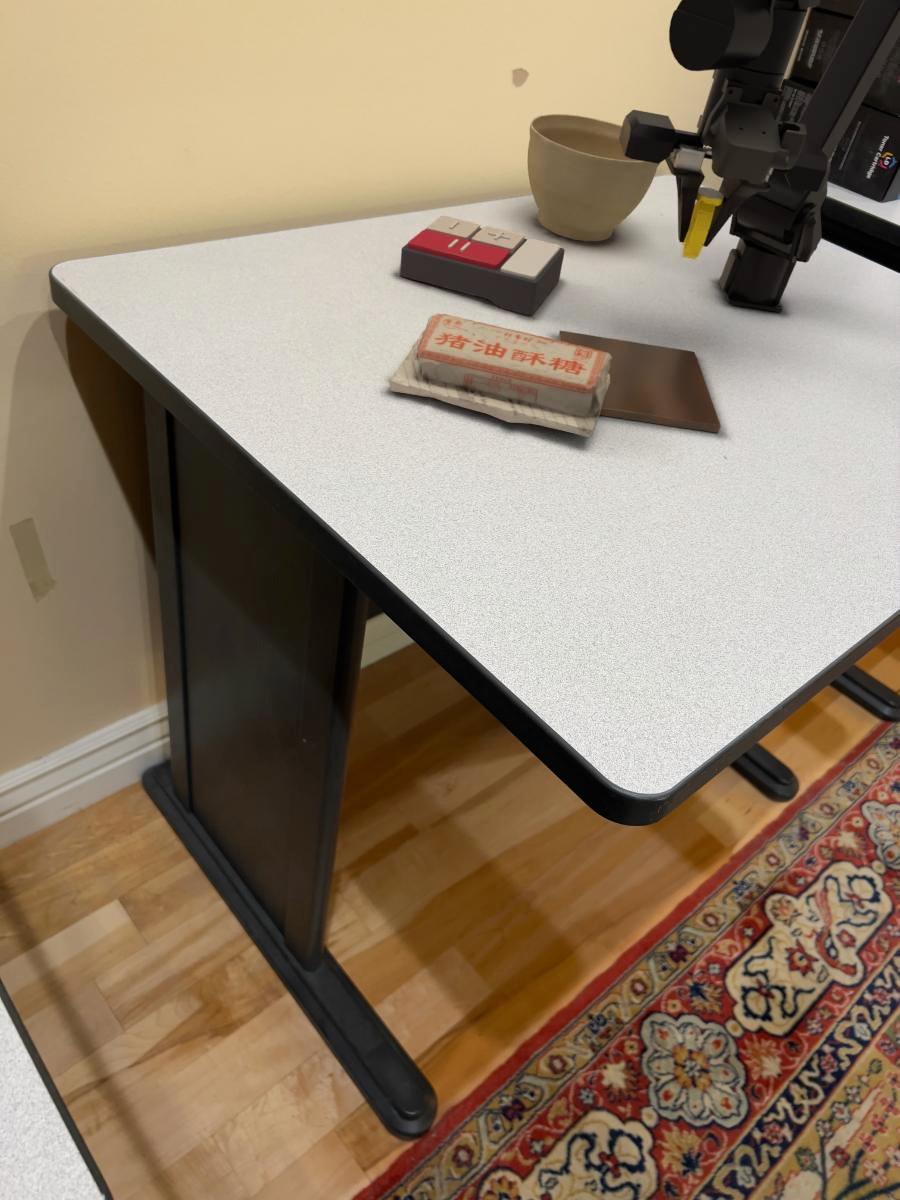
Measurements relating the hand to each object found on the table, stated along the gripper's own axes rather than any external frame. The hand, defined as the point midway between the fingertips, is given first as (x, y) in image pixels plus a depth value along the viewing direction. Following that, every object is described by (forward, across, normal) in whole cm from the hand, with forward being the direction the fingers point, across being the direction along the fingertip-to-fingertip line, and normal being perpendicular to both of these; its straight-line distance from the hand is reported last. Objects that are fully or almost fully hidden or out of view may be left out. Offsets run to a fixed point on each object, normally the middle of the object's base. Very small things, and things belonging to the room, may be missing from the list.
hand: (692, 243), depth 88 cm
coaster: (+9, -5, -12) cm, 16 cm away
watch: (+1, 0, 0) cm, 1 cm away
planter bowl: (+10, -8, +26) cm, 28 cm away
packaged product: (+9, -18, -18) cm, 27 cm away
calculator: (+10, -20, +6) cm, 23 cm away
